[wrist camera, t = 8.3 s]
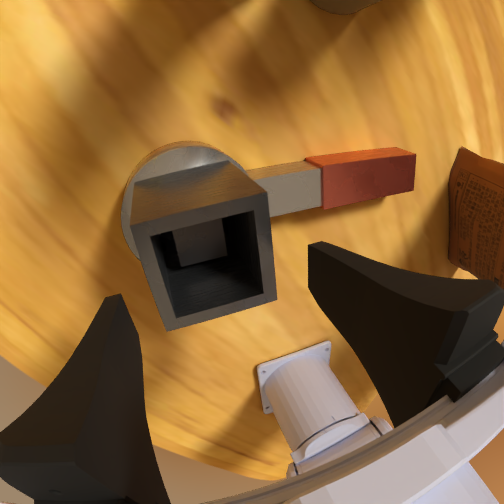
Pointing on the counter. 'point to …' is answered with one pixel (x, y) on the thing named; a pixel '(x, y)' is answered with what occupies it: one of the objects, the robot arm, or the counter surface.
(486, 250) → the pancake mix bag
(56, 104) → the counter surface
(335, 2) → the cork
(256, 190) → the square hollow tube
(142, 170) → the ratchet
